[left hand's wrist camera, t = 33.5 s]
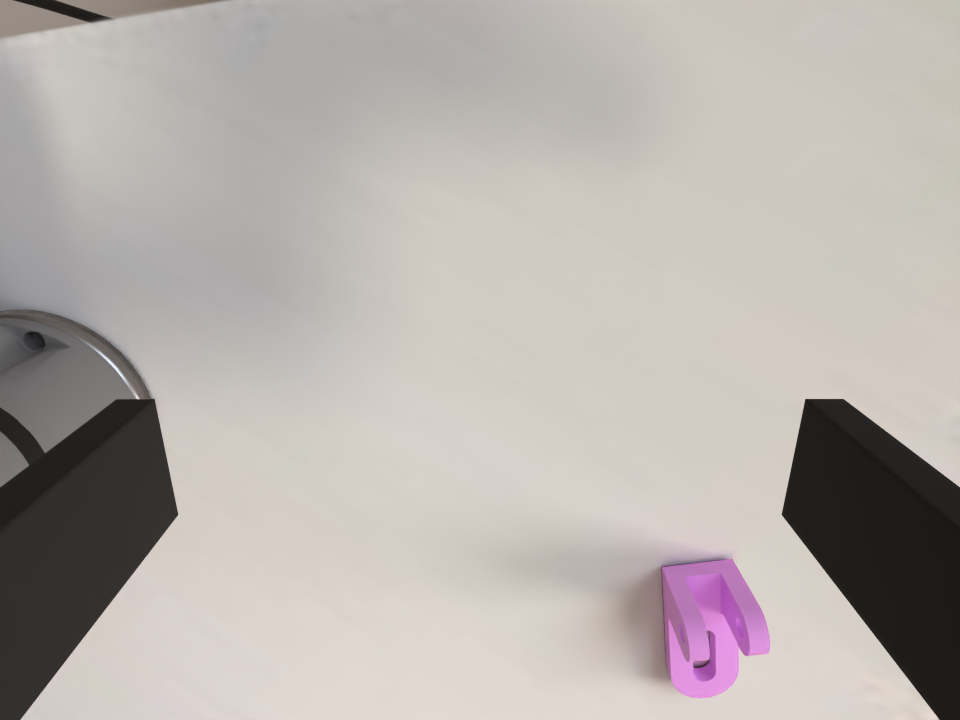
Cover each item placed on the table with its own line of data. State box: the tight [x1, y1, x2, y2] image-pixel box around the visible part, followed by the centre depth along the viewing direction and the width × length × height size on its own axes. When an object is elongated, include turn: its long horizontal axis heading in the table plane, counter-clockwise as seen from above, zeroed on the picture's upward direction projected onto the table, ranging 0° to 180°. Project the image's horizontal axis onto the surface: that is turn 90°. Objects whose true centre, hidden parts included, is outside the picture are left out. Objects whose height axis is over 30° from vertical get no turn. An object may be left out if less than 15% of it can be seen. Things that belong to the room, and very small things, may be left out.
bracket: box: [662, 559, 770, 698], centre depth 48 cm, size 13×6×7 cm, turn 8°
